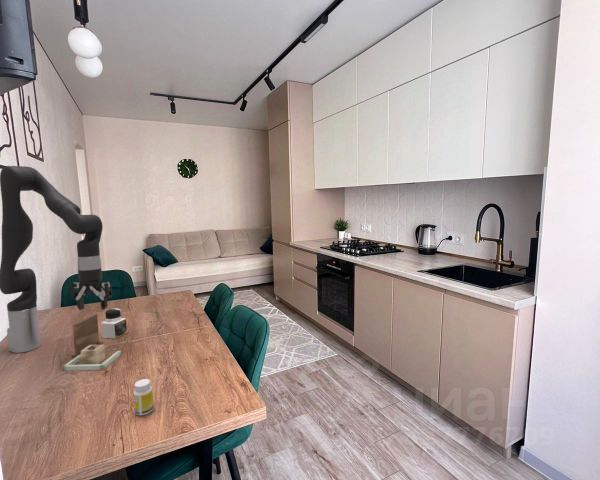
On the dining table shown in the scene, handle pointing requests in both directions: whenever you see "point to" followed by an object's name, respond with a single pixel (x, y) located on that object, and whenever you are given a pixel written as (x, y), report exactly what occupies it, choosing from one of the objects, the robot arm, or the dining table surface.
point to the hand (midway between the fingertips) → (92, 309)
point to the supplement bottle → (143, 397)
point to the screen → (85, 334)
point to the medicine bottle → (113, 324)
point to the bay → (102, 366)
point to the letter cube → (93, 354)
